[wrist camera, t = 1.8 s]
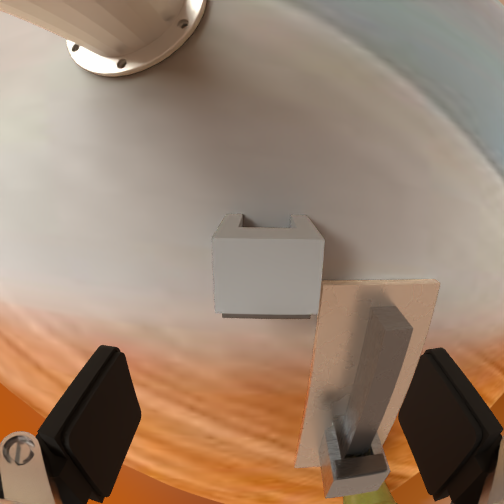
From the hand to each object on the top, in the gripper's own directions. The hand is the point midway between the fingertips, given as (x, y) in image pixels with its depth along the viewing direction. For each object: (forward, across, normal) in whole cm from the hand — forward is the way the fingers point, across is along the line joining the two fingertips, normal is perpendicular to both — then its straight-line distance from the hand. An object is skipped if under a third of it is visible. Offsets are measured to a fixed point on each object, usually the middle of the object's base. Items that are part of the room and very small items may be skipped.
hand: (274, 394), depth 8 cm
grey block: (+16, 0, 0) cm, 16 cm away
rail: (+16, -10, +16) cm, 24 cm away
